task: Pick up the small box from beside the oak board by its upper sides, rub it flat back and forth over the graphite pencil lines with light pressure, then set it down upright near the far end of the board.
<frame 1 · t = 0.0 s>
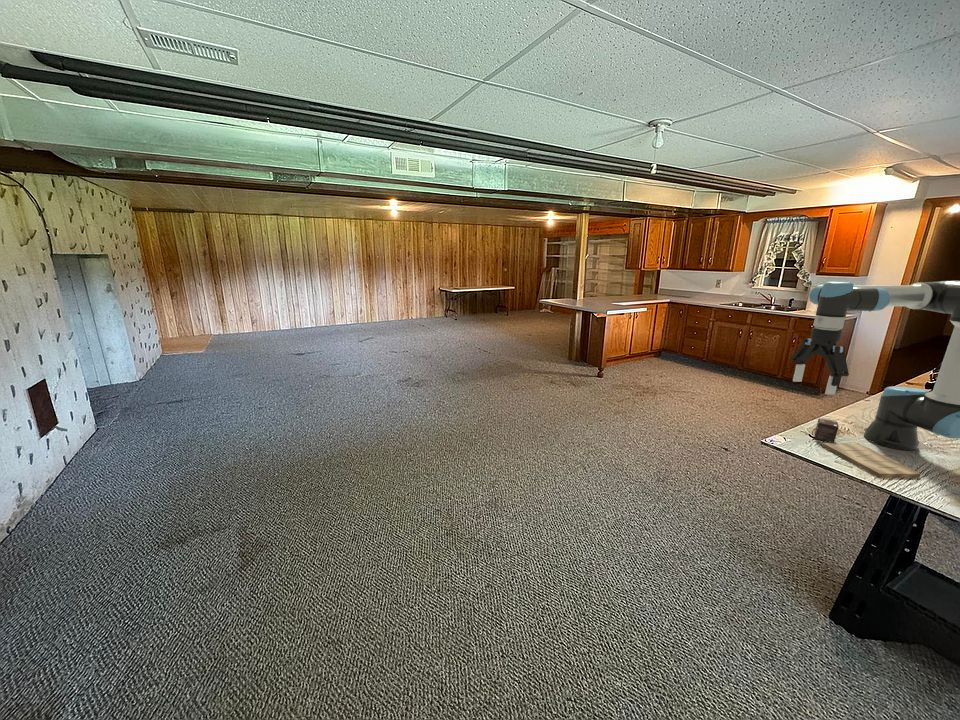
hand: (812, 387, 133), 28 cm above the table, fingers open, 13 cm apart
box: (823, 438, 156), on the table
oak board: (867, 460, 139), on the table
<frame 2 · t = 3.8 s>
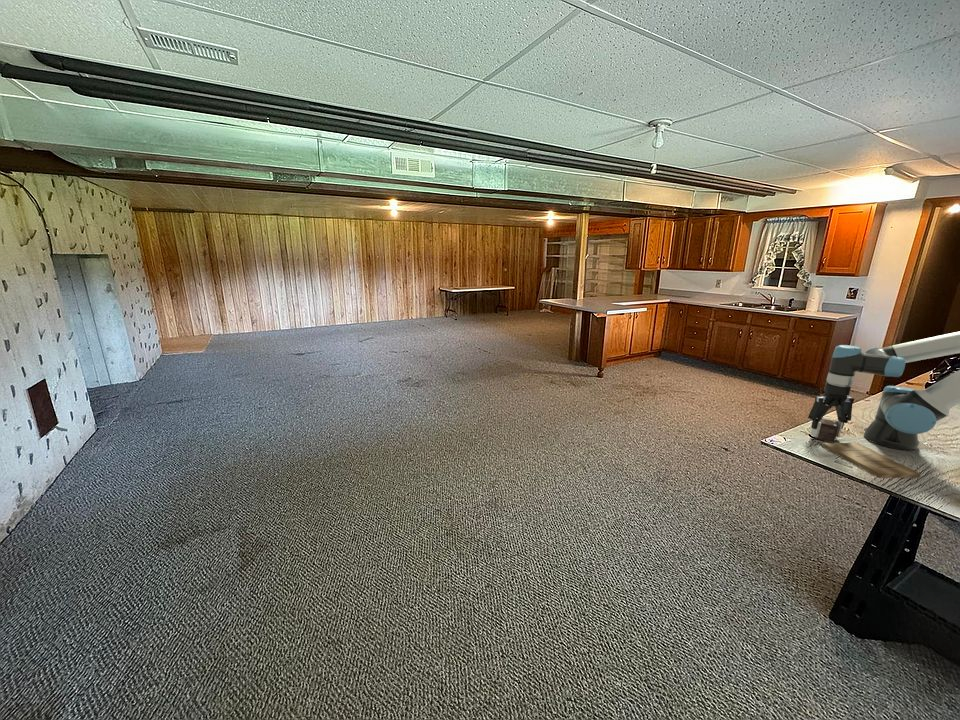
hand: (824, 435, 156), 1 cm above the table, fingers closed on box, 8 cm apart
box: (823, 438, 156), on the table, touching gripper
when the fingers open (3 cm above the table, at t = 16.3 s): box stays where it is, resting on oak board.
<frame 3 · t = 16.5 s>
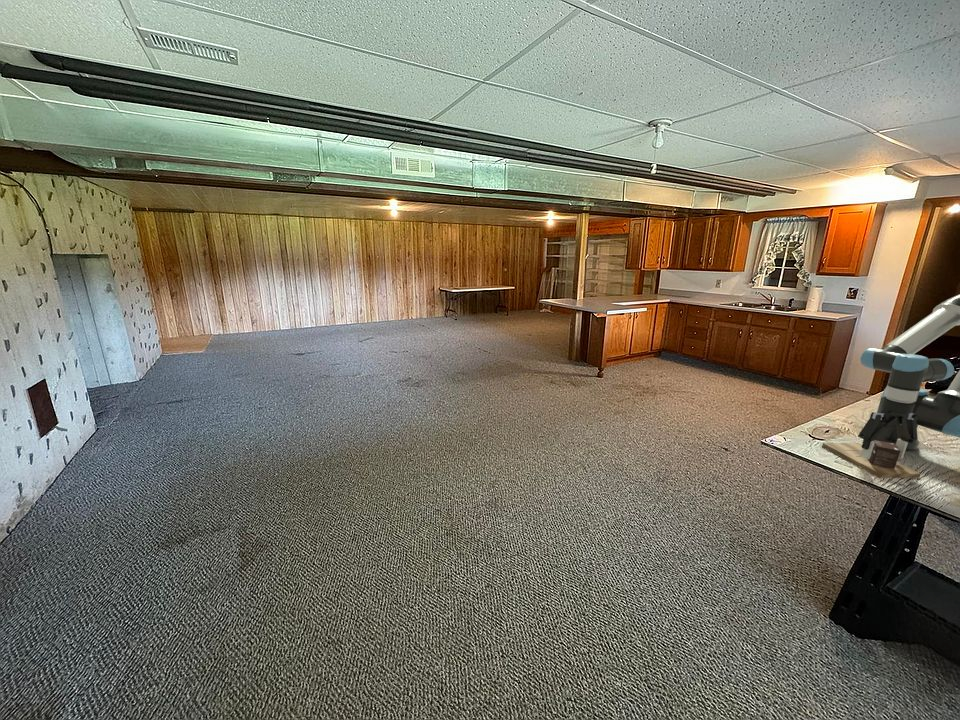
hand: (881, 457, 134), 4 cm above the table, fingers open, 11 cm apart
box: (880, 463, 134), point 1 cm above the table, touching oak board
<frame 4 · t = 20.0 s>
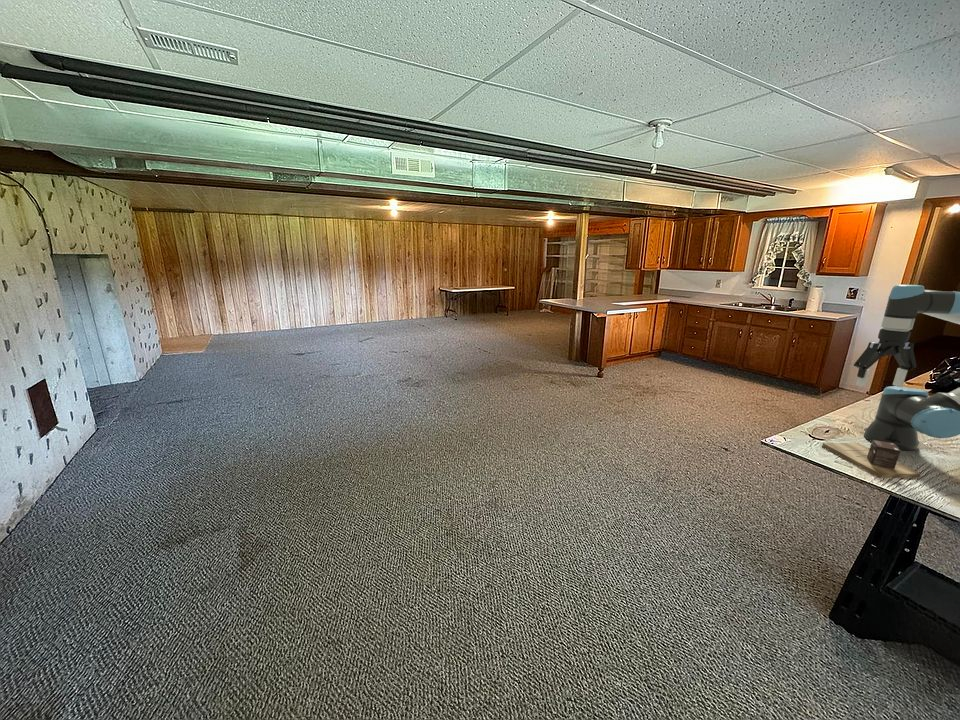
hand: (878, 386, 138), 27 cm above the table, fingers open, 13 cm apart
nothing on the table moved.
at the end: box inside the target area on the oak board (0.3 cm from its centre), point 1.3 cm above the oak board's base; box tilted 0°; the gripper is holding nothing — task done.
